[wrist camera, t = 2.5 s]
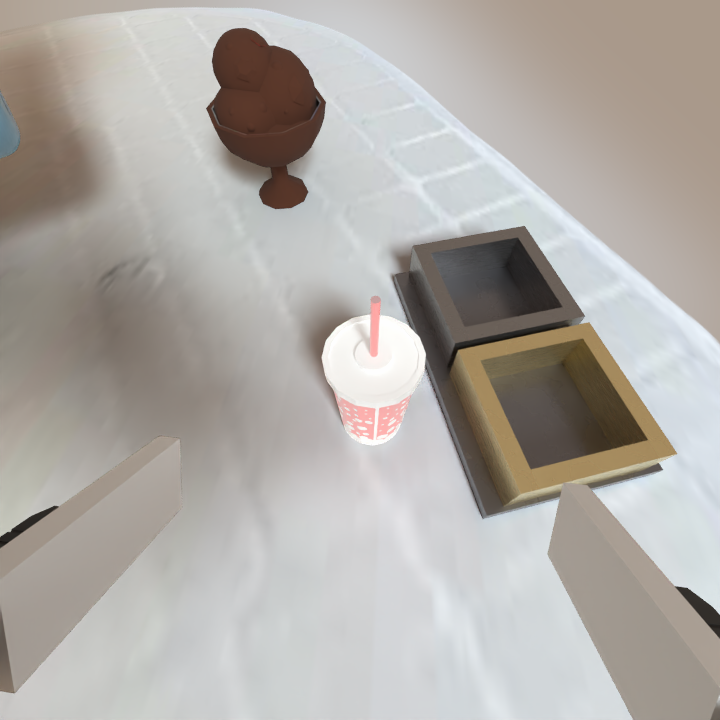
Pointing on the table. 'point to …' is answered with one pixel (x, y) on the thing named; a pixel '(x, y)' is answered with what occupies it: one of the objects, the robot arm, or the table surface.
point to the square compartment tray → (523, 374)
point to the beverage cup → (373, 373)
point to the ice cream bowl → (265, 110)
